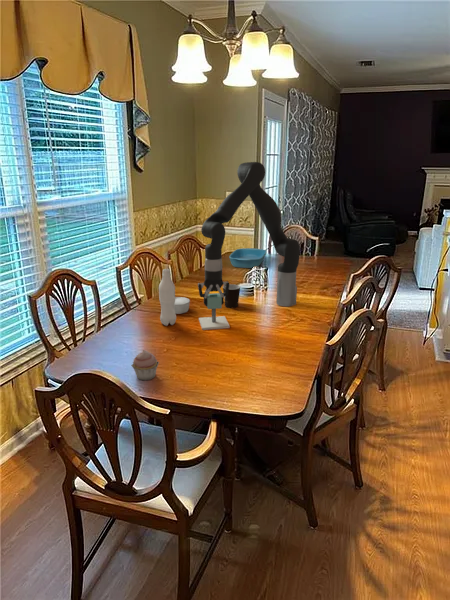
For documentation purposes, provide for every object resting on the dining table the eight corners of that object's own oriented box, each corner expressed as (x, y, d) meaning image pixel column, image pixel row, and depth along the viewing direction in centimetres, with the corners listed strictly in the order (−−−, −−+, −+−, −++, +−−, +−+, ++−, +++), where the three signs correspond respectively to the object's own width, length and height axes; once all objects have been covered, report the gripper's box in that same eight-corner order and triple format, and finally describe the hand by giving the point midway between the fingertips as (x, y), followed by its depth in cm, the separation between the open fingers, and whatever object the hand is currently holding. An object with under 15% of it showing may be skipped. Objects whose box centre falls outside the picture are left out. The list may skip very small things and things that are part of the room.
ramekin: (177, 305, 224) (177, 295, 222) (194, 309, 217) (194, 299, 216) (162, 311, 215) (161, 301, 213) (179, 316, 209) (179, 306, 207)
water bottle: (179, 321, 202) (177, 268, 194) (172, 327, 196) (170, 272, 188) (164, 319, 205) (162, 267, 196) (157, 325, 198) (154, 271, 190)
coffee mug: (238, 309, 217) (238, 290, 214) (221, 308, 219) (221, 288, 216) (242, 301, 228) (242, 283, 225) (225, 300, 230) (225, 282, 227)
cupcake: (139, 368, 160) (138, 342, 157) (163, 371, 158) (162, 346, 154) (127, 380, 152) (125, 354, 148) (152, 384, 149) (150, 357, 146)
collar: (219, 303, 201) (219, 293, 199) (221, 308, 195) (221, 297, 193) (206, 304, 200) (205, 293, 198) (208, 309, 194) (207, 298, 192)
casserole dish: (237, 256, 323) (237, 246, 321) (268, 257, 318) (268, 248, 316) (225, 269, 289) (225, 258, 287) (259, 271, 284) (260, 260, 282)
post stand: (224, 318, 207) (224, 299, 204) (229, 327, 196) (229, 308, 193) (198, 319, 205) (198, 301, 202) (202, 329, 193) (202, 310, 190)
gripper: (228, 265, 196) (228, 301, 202) (195, 266, 194) (196, 303, 199) (231, 269, 189) (231, 307, 195) (197, 271, 187) (198, 309, 192)
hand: (213, 305), depth 197 cm, fingers closed on collar, 6 cm apart
